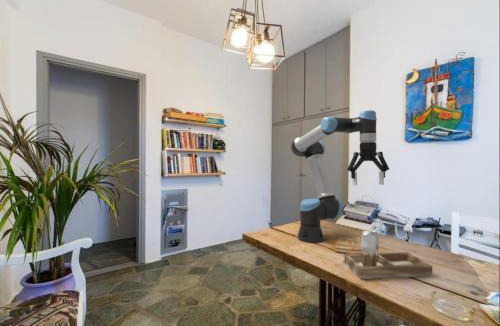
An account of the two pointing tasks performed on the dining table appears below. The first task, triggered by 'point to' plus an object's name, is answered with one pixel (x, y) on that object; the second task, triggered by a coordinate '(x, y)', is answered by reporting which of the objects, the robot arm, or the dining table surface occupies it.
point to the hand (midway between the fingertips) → (368, 184)
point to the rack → (389, 266)
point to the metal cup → (369, 248)
